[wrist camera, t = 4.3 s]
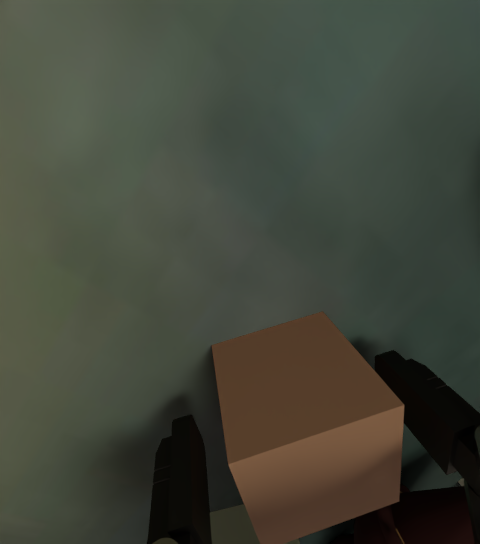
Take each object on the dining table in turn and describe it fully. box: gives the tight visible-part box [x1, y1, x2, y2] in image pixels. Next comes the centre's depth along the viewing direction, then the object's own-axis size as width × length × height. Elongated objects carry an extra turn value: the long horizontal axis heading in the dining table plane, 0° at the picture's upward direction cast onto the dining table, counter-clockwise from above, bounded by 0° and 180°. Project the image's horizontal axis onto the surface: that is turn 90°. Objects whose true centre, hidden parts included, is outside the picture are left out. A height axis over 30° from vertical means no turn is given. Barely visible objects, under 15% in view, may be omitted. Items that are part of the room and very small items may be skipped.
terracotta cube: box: [212, 311, 404, 544], centre depth 11 cm, size 5×5×5 cm
